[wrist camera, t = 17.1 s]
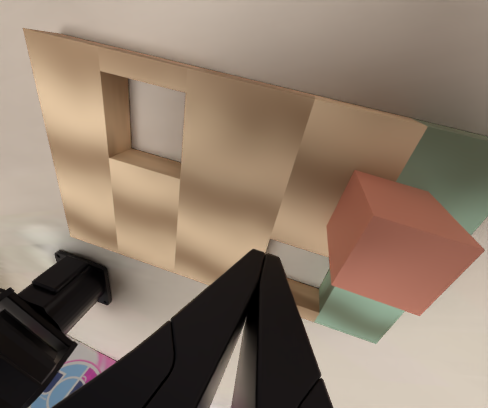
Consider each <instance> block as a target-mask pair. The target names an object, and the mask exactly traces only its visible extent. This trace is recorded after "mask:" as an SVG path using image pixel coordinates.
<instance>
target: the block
mask: <svg viewBox="0 0 488 408" xmlns="http://www.w3.org/2000/svg"><path fill="white" fill-rule="evenodd" d="M326 228H327V240H328V252H329V264H330V276H331V285H332V286H335V287H338V288H341V289H344V290H347V291H349V292H352V293H355V294H358V295H361V296H364V297H367V298H369V299H372V300H375V301H378V302H381V303H384V304H387V305H389V306H392V307H395V308H398V309H401V310H404V311H407V312H409V313H412V314H415V315H418V316H420V315H421V314H422V313H423V312H424V311H425V310H426V309H427V308H428V307H429V306H430V305H431V304H432V303H433V302H434V301H435V300H436V299H437V298H438V297H439V296H440V295H441V294H442V293H443V292H444V291H445V290H446V289H447V288H448V287H449V286H450V285H451V284H452V283H453V282H454V281H455V280H456V279H457V278H458V277H459V276H460V275H461V274H462V273H463V272H464V271H465V270H466V269H467V268H468V267H469V266H470V265H471V264H472V263H473V262H474V261H475V260H476V259H477V258H478V257H479V256H480V255H481V254H482V253H483V252H484V251H485V250H484V249H483V248H482V247H481V246H480V245H479V244H478V242H477V241H476V240H475V239H474V238H473V237H472V236H471V235H470V234H469V233H468V232H467V231H466V230H465V229H464V228H463V227H462V226H461V225H460V224H459V223H458V222H457V221H456V220H455V219H454V218H453V216H452V215H451V214H450V213H449V212H448V211H447V210H446V209H445V208H444V207H443V206H442V205H441V204H440V203H439V202H438V201H437V200H436V199H435V198H434V197H433V196H432V195H431V194H430V193H429V192H428V191H425V190H421V189H418V188H414V187H411V186H408V185H404V184H401V183H398V182H394V181H391V180H387V179H384V178H381V177H377V176H374V175H371V174H367V173H364V172H360V171H357V170H354V172H353V174H352V176H351V178H350V180H349V182H348V184H347V186H346V188H345V190H344V192H343V194H342V196H341V198H340V200H339V202H338V204H337V206H336V208H335V210H334V212H333V214H332V216H331V218H330V220H329V222H328V224H327V226H326Z"/></svg>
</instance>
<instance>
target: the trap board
mask: <svg viewBox="0 0 488 408" xmlns="http://www.w3.org/2000/svg"><path fill="white" fill-rule="evenodd" d="M23 31H24V35H25V40H26V44H27V48H28V53H29V57H30V61H31V66H32V70H33V75H34V79H35V83H36V88H37V92H38V96H39V101H40V105H41V110H42V114H43V118H44V123H45V127H46V131H47V136H48V140H49V145H50V149H51V153H52V158H53V162H54V166H55V171H56V175H57V180H58V184H59V188H60V193H61V197H62V202H63V206H64V210H65V215H66V219H67V223H68V228H69V232H70V237H73V238H76V239H79V240H82V241H85V242H88V243H90V244H93V245H96V246H99V247H102V248H105V249H107V250H110V251H113V252H116V253H119V254H122V255H124V256H127V257H130V258H133V259H136V260H139V261H142V262H144V263H147V264H150V265H153V266H156V267H159V268H161V269H164V270H167V271H170V272H173V273H176V274H179V275H181V276H184V277H187V278H190V279H193V280H196V281H198V282H201V283H204V284H207V285H211V284H212V283H213V282H214V281H215V280H216V279H218V278H219V277H220V276H221V275H222V274H223V273H225V272H226V271H227V270H228V269H229V268H230V267H232V266H233V265H234V264H235V263H236V262H237V261H239V260H240V259H241V258H242V257H243V256H244V255H246V254H247V253H248V252H249V251H250V250H252V249H256V250H259V251H262V252H264V253H265V252H266V249H267V246H268V243H269V240H270V239H272V240H276V241H279V242H282V243H285V244H288V245H291V246H295V247H298V248H301V249H304V250H307V251H310V252H313V253H317V254H320V255H323V256H326V257H329V252H328V240H327V228H326V226H327V224H328V222H329V220H330V218H331V216H332V214H333V212H334V210H335V208H336V206H337V204H338V202H339V200H340V198H341V196H342V194H343V192H344V190H345V188H346V186H347V184H348V182H349V180H350V178H351V176H352V174H353V172H354V170H357V171H360V172H364V173H367V174H371V175H374V176H377V177H381V178H384V179H387V180H391V181H394V182H398V183H401V184H404V185H408V186H411V187H414V188H418V189H421V190H425V191H428V192H429V193H430V194H431V195H432V196H433V197H434V198H435V199H436V200H437V201H438V202H439V203H440V204H441V205H442V206H443V207H444V208H445V209H446V210H447V211H448V212H449V213H450V214H451V215H452V216H453V218H454V219H455V220H456V221H457V222H458V223H459V224H460V225H461V226H462V227H463V228H464V229H465V230H466V231H467V232H468V233H469V234H470V235H472V234H473V232H474V231H475V230H476V229H477V228H478V227H479V226H480V224H481V223H482V222H483V221H484V220H485V219H486V218H487V216H488V137H487V136H483V135H479V134H475V133H470V132H466V131H462V130H458V129H454V128H450V127H446V126H441V125H437V124H433V123H429V122H425V121H421V120H416V119H412V118H408V117H404V116H400V115H396V114H392V113H387V112H383V111H379V110H375V109H371V108H367V107H362V106H358V105H354V104H350V103H346V102H342V101H338V100H333V99H329V98H325V97H321V96H317V95H313V94H308V93H304V92H300V91H296V90H292V89H288V88H284V87H279V86H275V85H271V84H267V83H263V82H259V81H254V80H250V79H246V78H242V77H238V76H234V75H230V74H225V73H221V72H217V71H213V70H209V69H205V68H200V67H196V66H192V65H188V64H184V63H180V62H176V61H171V60H167V59H163V58H159V57H155V56H151V55H146V54H142V53H138V52H134V51H130V50H126V49H122V48H117V47H113V46H109V45H105V44H101V43H97V42H93V41H88V40H84V39H80V38H76V37H72V36H68V35H63V34H58V33H52V32H45V31H39V30H32V29H25V28H23ZM128 78H129V79H133V80H137V81H141V82H145V83H149V84H153V85H157V86H161V87H165V88H169V89H172V90H176V91H180V92H184V93H186V95H185V111H184V127H183V142H182V158H181V163H180V162H176V161H173V160H170V159H166V158H163V157H159V156H156V155H153V154H149V153H146V152H142V151H139V150H135V149H132V148H131V130H130V109H129V89H128ZM287 280H288V283H289V286H290V288H291V291H292V294H293V297H294V300H295V302H296V305H297V308H298V311H299V314H300V316H301V318H304V319H307V320H309V321H312V322H315V323H318V324H321V325H324V326H326V327H329V328H332V329H335V330H338V331H341V332H344V333H346V334H349V335H352V336H355V337H358V338H361V339H363V340H366V341H369V342H372V343H375V344H376V343H377V342H378V341H379V340H380V339H381V338H382V337H383V335H384V334H385V333H386V332H387V331H388V330H389V329H390V327H391V326H392V325H393V324H394V323H395V322H396V321H397V319H398V318H399V317H400V316H401V315H402V314H403V313H404V310H401V309H398V308H395V307H392V306H389V305H387V304H384V303H381V302H378V301H375V300H372V299H369V298H367V297H364V296H361V295H358V294H355V293H352V292H349V291H347V290H344V289H341V288H338V287H335V286H332V285H331V276H330V269H329V271H328V273H327V275H326V277H325V278H324V280H323V282H322V284H321V286H320V288H319V289H318V288H315V287H312V286H309V285H306V284H303V283H300V282H297V281H294V280H291V279H288V278H287Z"/></svg>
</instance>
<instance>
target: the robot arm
mask: <svg viewBox="0 0 488 408" xmlns="http://www.w3.org/2000/svg"><path fill="white" fill-rule="evenodd" d="M55 258H56V261H57V263H56V264H54V265H53V266H52V267H50V268H49V269H48V270H46V271H45V272H44V273H42V274H41V275H40V276H38V277H37V278H35V279H34V280H33V281H32V284H30V285H29V286H28V287H26V288H25V289H24V290H22V291H21V292H20V293H18V294H16V293H15V292H14V290H13V289H12V288H11V287H10V288H8V289H7V290H5V289H1V288H0V408H28V407H29V406H30V405H31V404H32V403H33V402H34V401H35V400H36V399H37V398H38V397H39V396H40V395H41V394H42V393H43V391H44V390H45V389H46V388H47V387H48V385H49V384H50V383H51V381H52V380H53V378H54V377H55V376H56V374H57V373H58V372H59V370H60V369H61V367H62V366H63V365H64V363H65V362H66V361H67V359H68V358H69V356H70V355H71V354H72V352H73V351H74V350H75V348H76V347H77V345H78V344H77V343H76V342H75V341H72V340H71V339H70V338H69V337H67V336H66V334H67V333H68V332H69V331H70V329H71V328H72V327H73V326H74V325H75V324H76V323H77V322H78V321H79V320H80V319H81V318H82V317H83V316H84V315H85V314H86V313H87V311H88V310H89V309H90V308H91V307H92V306H93V305H94V304H95V303H96V302H100V303H103V304H105V305H109V304H110V303H111V295H110V288H109V281H108V274H107V269H106V268H105V267H104V266H102V265H99V264H96V263H93V262H91V261H88V260H85V259H82V258H79V257H77V256H74V255H71V254H68V253H66V252H63V251H60V250H59V251H57V252H56V253H55ZM246 317H247V318H246ZM245 320H246V322H245ZM244 323H245V326H244ZM243 326H244V331H243V336H242V343H241V349H240V355H239V361H238V368H237V374H236V380H235V386H234V393H233V399H232V405H231V408H333V405H332V403H331V400H330V397H329V395H328V392H327V389H326V386H325V383H324V380H323V379H322V378H320V377H321V372H320V370H319V367H318V364H317V361H316V358H315V356H314V353H313V350H312V347H311V344H310V342H309V339H308V336H307V333H306V330H305V328H304V325H303V322H302V319H301V316H300V314H299V311H298V308H297V305H296V302H295V300H294V297H293V294H292V291H291V288H290V286H289V283H288V280H287V277H286V274H285V272H284V269H283V266H282V263H281V260H280V258H279V257H278V256H275V255H272V254H268V253H267V254H266V255H265V253H264V252H262V251H259V250H256V249H252V250H250V251H249V252H248V253H247V254H246V255H244V256H243V257H242V258H241V259H240V260H239V261H237V262H236V263H235V264H234V265H233V266H232V267H230V268H229V269H228V270H227V271H226V272H225V273H223V274H222V275H221V276H220V277H219V278H218V279H216V280H215V281H214V282H213V283H212V284H211V285H209V286H208V287H207V288H206V289H205V290H204V291H202V292H201V293H200V294H199V295H198V296H197V297H195V298H194V299H193V300H192V301H191V302H190V303H188V304H187V305H186V306H185V307H184V308H183V309H181V310H180V311H179V312H178V313H177V314H176V315H174V316H173V317H172V318H171V321H167V322H166V323H165V324H164V325H163V326H161V327H160V328H159V329H158V330H157V331H156V332H154V333H153V334H152V335H151V336H149V337H148V338H147V339H146V340H144V341H143V342H142V343H141V344H139V345H138V346H137V347H136V348H135V349H133V350H132V351H131V352H129V353H128V354H126V355H125V356H124V357H122V358H121V359H120V360H118V361H117V362H115V363H114V364H113V365H111V366H110V367H109V368H107V369H106V370H104V371H103V372H101V373H100V374H99V375H97V376H96V377H94V378H93V379H91V380H90V381H88V382H87V383H86V384H84V385H83V386H81V387H80V388H78V389H77V390H76V391H74V392H73V393H71V394H70V395H68V396H67V397H65V398H64V399H63V400H61V401H60V402H58V403H57V404H55V405H54V406H52V407H51V408H209V407H210V405H211V403H212V400H213V398H214V395H215V393H216V391H217V388H218V386H219V384H220V381H221V379H222V376H223V374H224V372H225V369H226V367H227V365H228V362H229V360H230V358H231V355H232V353H233V350H234V348H235V346H236V343H237V341H238V339H239V336H240V334H241V331H242V329H243Z"/></svg>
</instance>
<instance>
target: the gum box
mask: <svg viewBox="0 0 488 408" xmlns="http://www.w3.org/2000/svg"><path fill="white" fill-rule="evenodd" d="M66 336H67V337H69V338H70V339H71V340H72V341H75V342H76V343H77V344H78V345H77V347H76V348H75V350H74V351H73V352H72V354H71V355H70V356H69V358H68V359H67V361H66V362H65V363H64V365H63V366H62V367H61V369H60V370H59V372H58V373H57V374H56V376H55V377H54V378H53V380H52V381H51V383H50V384H49V385H48V387H47V388H46V389H45V390H44V391H43V393H42V394H41V395H40V396H39V397H38V398H37V399H36V400H35V401H34V402H33V403H32V404H31V405H30V406H29V407H28V408H51V407H52V406H54V405H55V404H57V403H58V402H60V401H61V400H63V399H64V398H65V397H67V396H68V395H70V394H71V393H73V392H74V391H76V390H77V389H78V388H80V387H81V386H83V385H84V384H86V383H87V382H88V381H90V380H91V379H93V378H94V377H96V376H97V375H99V374H100V373H101V372H103V371H104V370H106V369H107V368H109V367H110V366H111V365H113V364H114V363H115V362H116V361H115V360H113V359H111V358H109V357H107V356H105V355H103V354H101V353H99V352H98V351H96V350H94V349H92V348H91V347H89V346H87V345H85V344H83V343H81V342H79V341H77V340H75V339H73V338H71V337H70V336H68V335H66Z"/></svg>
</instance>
